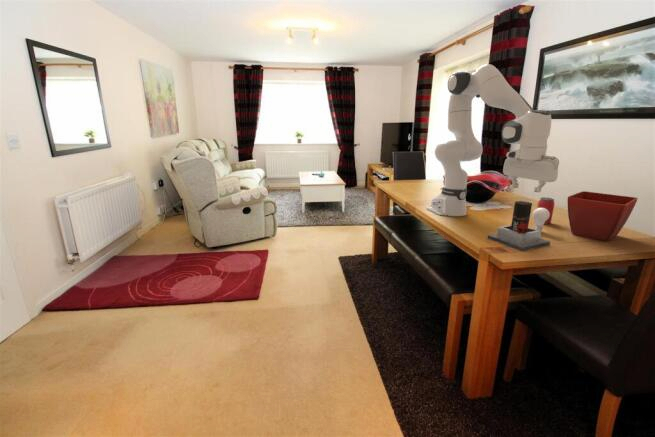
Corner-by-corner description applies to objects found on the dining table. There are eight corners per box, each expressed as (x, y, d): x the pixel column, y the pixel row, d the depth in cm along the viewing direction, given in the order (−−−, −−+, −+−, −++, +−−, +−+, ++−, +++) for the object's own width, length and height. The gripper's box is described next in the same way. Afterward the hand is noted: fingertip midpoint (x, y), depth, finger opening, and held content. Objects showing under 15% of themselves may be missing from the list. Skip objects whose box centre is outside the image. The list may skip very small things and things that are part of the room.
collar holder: (487, 238, 136) (488, 226, 135) (513, 233, 142) (515, 221, 141) (521, 251, 122) (524, 237, 121) (549, 244, 128) (552, 231, 126)
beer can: (553, 224, 153) (558, 200, 149) (538, 224, 154) (542, 200, 151) (547, 220, 159) (551, 197, 156) (532, 220, 160) (536, 197, 157)
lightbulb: (548, 231, 143) (553, 208, 140) (542, 234, 140) (547, 210, 137) (533, 228, 148) (537, 205, 145) (527, 230, 145) (531, 207, 142)
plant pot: (559, 233, 141) (566, 196, 136) (575, 225, 152) (582, 190, 147) (614, 246, 126) (625, 204, 121) (628, 236, 137) (638, 197, 132)
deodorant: (507, 238, 132) (513, 203, 127) (511, 234, 136) (517, 200, 132) (523, 241, 128) (529, 205, 123) (527, 237, 132) (533, 202, 128)
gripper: (565, 156, 114) (557, 194, 118) (513, 151, 132) (508, 184, 136) (554, 157, 112) (546, 195, 116) (503, 152, 130) (498, 186, 134)
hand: (525, 189), depth 126 cm, fingers open, 8 cm apart
